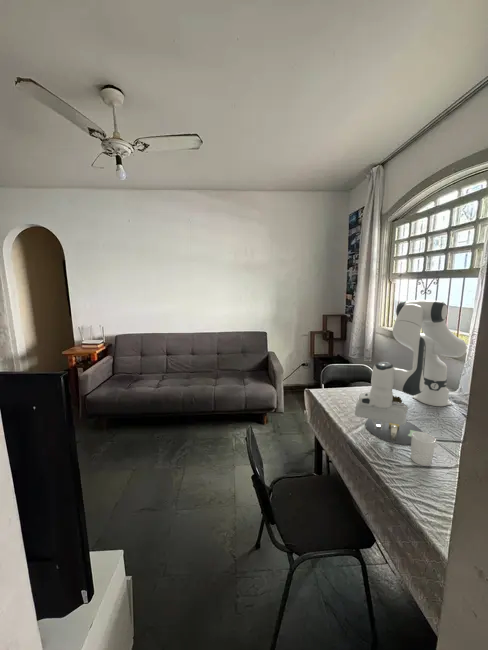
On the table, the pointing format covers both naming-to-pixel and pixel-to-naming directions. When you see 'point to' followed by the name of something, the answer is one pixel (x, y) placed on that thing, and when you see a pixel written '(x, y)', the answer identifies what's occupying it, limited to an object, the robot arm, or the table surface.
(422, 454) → the white cup
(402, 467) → the table surface
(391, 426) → the needle
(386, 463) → the table surface
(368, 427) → the dial
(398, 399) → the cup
